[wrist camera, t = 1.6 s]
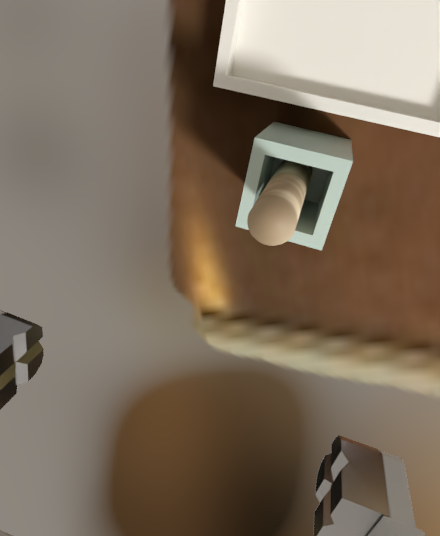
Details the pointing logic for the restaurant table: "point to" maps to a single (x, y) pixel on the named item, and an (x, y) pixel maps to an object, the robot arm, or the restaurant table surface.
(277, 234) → the beech dowel
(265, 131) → the celadon cup
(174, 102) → the restaurant table surface
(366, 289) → the restaurant table surface
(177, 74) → the restaurant table surface
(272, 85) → the melamine tray
